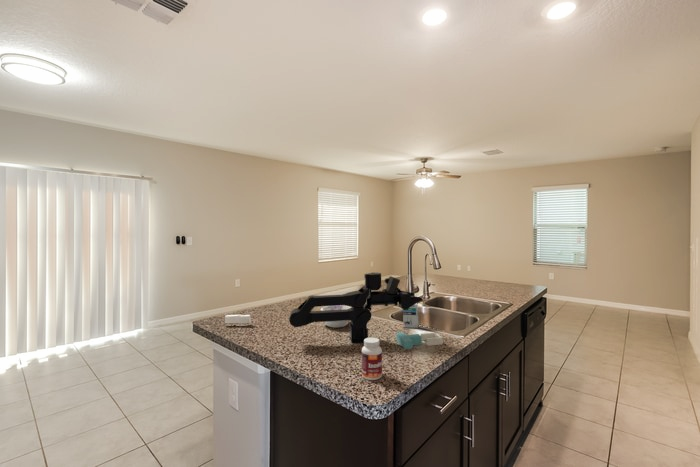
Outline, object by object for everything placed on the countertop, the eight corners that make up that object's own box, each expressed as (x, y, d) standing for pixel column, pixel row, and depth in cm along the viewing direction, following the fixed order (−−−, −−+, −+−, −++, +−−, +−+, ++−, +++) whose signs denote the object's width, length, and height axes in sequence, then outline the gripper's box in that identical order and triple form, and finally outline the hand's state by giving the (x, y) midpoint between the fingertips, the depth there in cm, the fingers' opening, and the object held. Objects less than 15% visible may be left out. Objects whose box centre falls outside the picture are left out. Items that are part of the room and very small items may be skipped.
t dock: (427, 345, 121) (427, 339, 121) (420, 339, 128) (420, 333, 128) (442, 344, 122) (442, 337, 122) (435, 338, 129) (435, 332, 129)
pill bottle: (368, 382, 92) (368, 345, 92) (357, 374, 98) (357, 338, 98) (386, 377, 95) (385, 341, 95) (374, 370, 101) (374, 335, 101)
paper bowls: (342, 318, 161) (342, 303, 161) (359, 326, 148) (358, 309, 148) (315, 323, 153) (315, 307, 153) (329, 332, 140) (329, 314, 140)
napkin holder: (218, 327, 150) (217, 315, 150) (238, 321, 160) (238, 310, 160) (238, 333, 142) (238, 320, 142) (258, 326, 151) (258, 314, 151)
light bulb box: (418, 328, 143) (417, 304, 143) (403, 327, 144) (402, 304, 144) (418, 321, 153) (417, 299, 153) (403, 321, 155) (403, 299, 155)
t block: (404, 349, 118) (404, 341, 118) (396, 340, 128) (396, 332, 128) (425, 347, 119) (424, 339, 119) (415, 338, 129) (415, 331, 129)
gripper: (387, 281, 121) (426, 280, 123) (375, 275, 139) (409, 274, 142) (387, 311, 121) (426, 309, 123) (375, 300, 139) (410, 299, 142)
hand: (417, 296), depth 132 cm, fingers open, 9 cm apart
